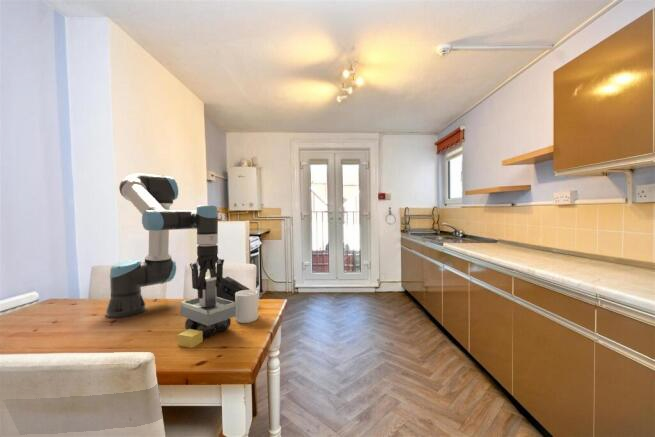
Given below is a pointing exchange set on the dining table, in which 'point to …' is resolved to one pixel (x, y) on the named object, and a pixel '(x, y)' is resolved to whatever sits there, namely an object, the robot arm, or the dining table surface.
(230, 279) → the tool
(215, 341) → the dining table surface
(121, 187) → the robot arm
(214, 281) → the grey tall block
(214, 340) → the dining table surface
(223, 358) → the dining table surface
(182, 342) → the block
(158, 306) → the dining table surface
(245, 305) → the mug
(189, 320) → the grey open rectangular container
